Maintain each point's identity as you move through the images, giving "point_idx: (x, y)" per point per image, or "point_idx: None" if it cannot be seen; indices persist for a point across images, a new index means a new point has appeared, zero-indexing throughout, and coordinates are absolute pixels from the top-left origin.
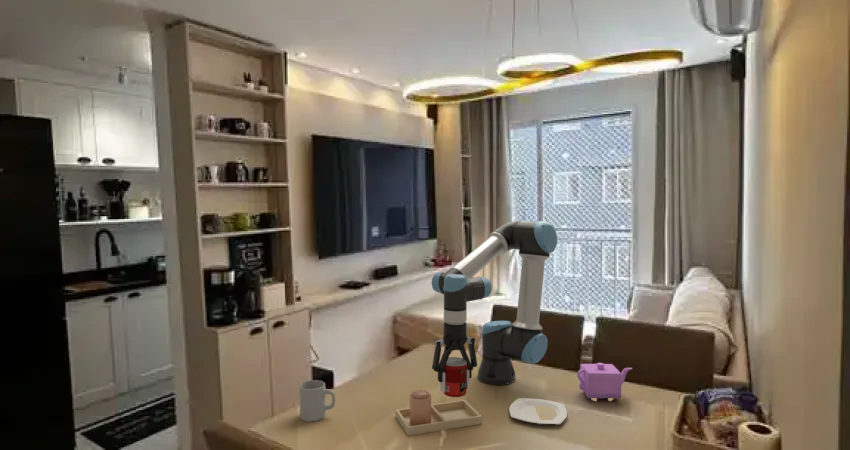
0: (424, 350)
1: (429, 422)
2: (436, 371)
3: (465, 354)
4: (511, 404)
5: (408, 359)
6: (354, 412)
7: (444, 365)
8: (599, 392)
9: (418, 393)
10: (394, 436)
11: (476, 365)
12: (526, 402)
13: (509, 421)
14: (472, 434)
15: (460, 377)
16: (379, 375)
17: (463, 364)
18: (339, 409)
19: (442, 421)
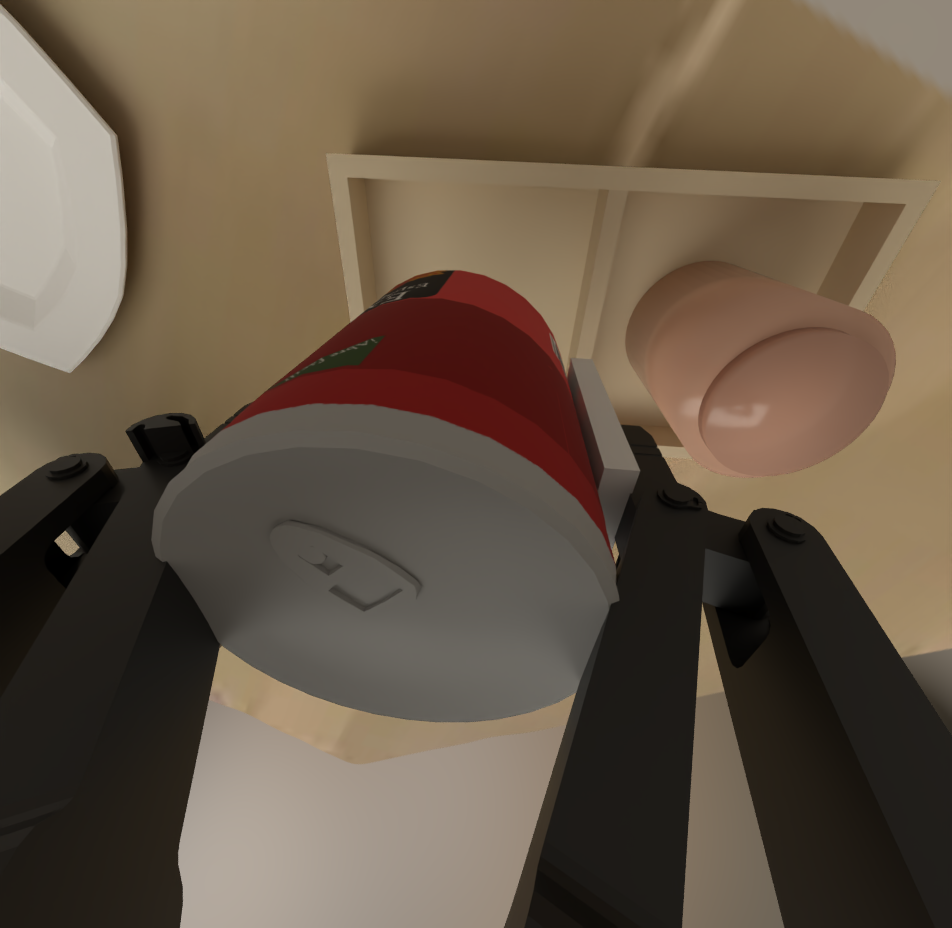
0: (378, 753)
1: (676, 276)
2: (764, 510)
3: (43, 709)
4: (109, 315)
5: (442, 737)
6: (854, 547)
7: (642, 566)
8: None
9: (810, 416)
10: (934, 236)
11: (54, 462)
12: (20, 315)
13: (151, 137)
14: (459, 19)
15: (409, 318)
16: (572, 704)
17: (246, 433)
18: (879, 584)
19: (639, 186)
